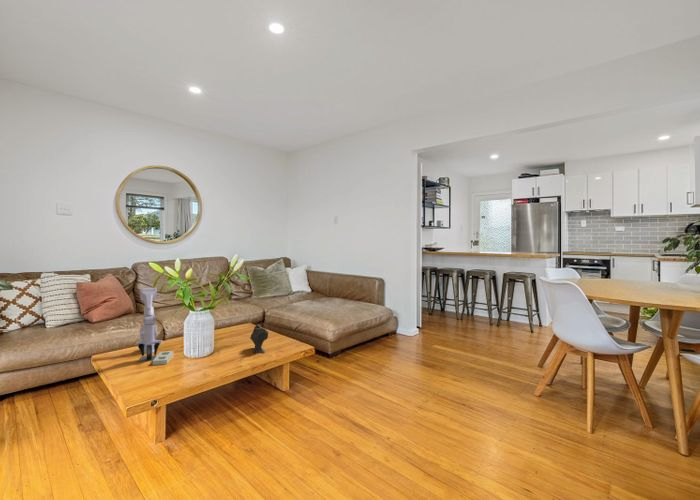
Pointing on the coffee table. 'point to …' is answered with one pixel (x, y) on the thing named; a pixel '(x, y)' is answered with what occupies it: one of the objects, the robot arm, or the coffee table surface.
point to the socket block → (163, 358)
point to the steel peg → (149, 352)
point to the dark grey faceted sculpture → (259, 338)
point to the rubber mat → (144, 358)
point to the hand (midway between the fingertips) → (149, 355)
